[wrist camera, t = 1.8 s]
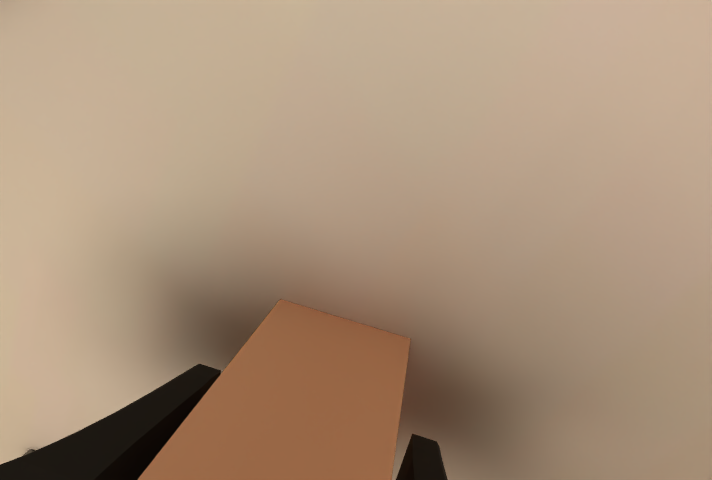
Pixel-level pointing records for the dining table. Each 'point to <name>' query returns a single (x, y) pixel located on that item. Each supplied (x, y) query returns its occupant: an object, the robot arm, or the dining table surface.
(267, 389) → the square peg
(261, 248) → the dining table surface
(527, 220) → the dining table surface
